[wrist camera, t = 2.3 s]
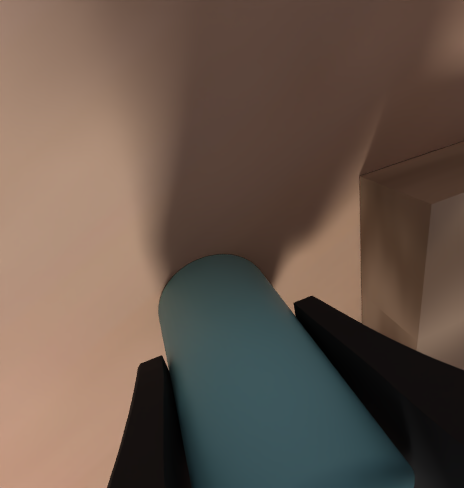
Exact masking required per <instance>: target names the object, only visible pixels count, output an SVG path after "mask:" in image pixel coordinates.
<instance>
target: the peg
mask: <svg viewBox="0 0 464 488" xmlns="http://www.w3.org/2000/svg"><path fill="white" fill-rule="evenodd" d="M158 314H159V320H160V325H161V330H162V336H163V341H164V346H165V351H166V356H167V362H168V367H169V372H170V377H171V382H172V387H173V393H174V398H175V403H176V409H177V414H178V419H179V424H180V429H181V435H182V440H183V445H184V450H185V455H186V461H187V466H188V471H189V476H190V482H191V487H192V488H414V484H415V475H414V471H413V469H412V467H411V466H410V464H409V463H408V462H407V461H406V459H405V458H404V457H403V455H402V454H401V453H400V452H399V450H398V449H397V448H396V446H395V445H394V444H393V442H392V441H391V440H390V439H389V437H388V436H387V435H386V433H385V432H384V431H383V429H382V428H381V427H380V426H379V424H378V423H377V422H376V420H375V419H374V418H373V416H372V415H371V414H370V413H369V411H368V410H367V409H366V407H365V406H364V405H363V403H362V402H361V401H360V400H359V398H358V397H357V396H356V394H355V393H354V392H353V390H352V389H351V388H350V387H349V385H348V384H347V383H346V381H345V380H344V379H343V378H342V376H341V375H340V374H339V372H338V371H337V370H336V368H335V367H334V366H333V365H332V363H331V362H330V361H329V359H328V358H327V357H326V355H325V354H324V353H323V352H322V350H321V349H320V348H319V346H318V345H317V344H316V342H315V341H314V340H313V339H312V337H311V336H310V335H309V333H308V332H307V331H306V329H305V328H304V327H303V326H302V324H301V323H300V322H299V320H298V319H297V318H296V316H295V315H294V314H293V313H292V311H291V310H290V309H289V307H288V306H287V305H286V304H285V302H284V301H283V300H282V298H281V297H280V296H279V294H278V293H277V292H276V291H275V289H274V288H273V287H272V285H271V284H270V283H269V281H268V280H267V279H266V278H265V276H264V275H263V274H262V272H261V271H260V270H259V269H258V268H257V267H256V266H255V265H254V264H253V263H252V262H250V261H248V260H246V259H245V258H242V257H239V256H235V255H227V254H220V255H212V256H207V257H204V258H201V259H198V260H196V261H193V262H192V263H190V264H188V265H186V266H185V267H184V268H182V269H181V270H180V271H178V272H177V273H176V274H175V275H174V276H173V277H172V278H171V280H170V281H169V282H168V284H167V285H166V287H165V288H164V290H163V292H162V295H161V298H160V301H159V310H158Z"/></svg>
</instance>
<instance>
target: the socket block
mask: <svg viewBox="0 0 464 488" xmlns="http://www.w3.org/2000/svg"><path fill="white" fill-rule="evenodd" d="M360 222H361V285H362V324H364V325H366V326H367V327H369V328H371V329H373V330H375V331H377V332H379V333H381V334H383V335H385V336H387V337H389V338H391V339H393V340H395V341H397V342H399V343H401V344H403V345H405V346H408V347H410V348H412V349H414V350H416V351H418V352H421V353H423V354H425V355H427V356H430V357H432V358H434V359H437V360H439V361H442V362H444V363H447V364H449V365H452V366H455V367H457V368H460V369H462V370H464V141H463V142H460V143H457V144H454V145H451V146H448V147H445V148H442V149H439V150H436V151H433V152H430V153H428V154H425V155H422V156H419V157H416V158H413V159H410V160H407V161H404V162H401V163H398V164H395V165H392V166H389V167H386V168H383V169H380V170H377V171H374V172H371V173H368V174H365V175H362V176H360Z"/></svg>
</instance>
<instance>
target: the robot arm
mask: <svg viewBox="0 0 464 488" xmlns="http://www.w3.org/2000/svg"><path fill="white" fill-rule="evenodd" d="M294 308H295V315H296V318H297V319H298V320H299V322H300V323H301V324H302V326H303V327H304V328H305V329H306V331H307V332H308V333H309V335H310V336H311V337H312V339H313V340H314V341H315V342H316V344H317V345H318V346H319V348H320V349H321V350H322V352H323V353H324V354H325V355H326V357H327V358H328V359H329V361H330V362H331V363H332V365H333V366H334V367H335V368H336V370H337V371H338V372H339V374H340V375H341V376H342V378H343V379H344V380H345V381H346V383H347V384H348V385H349V387H350V388H351V389H352V390H353V392H354V393H355V394H356V396H357V397H358V398H359V400H360V401H361V402H362V403H363V405H364V406H365V407H366V409H367V410H368V411H369V413H370V414H371V415H372V416H373V418H374V419H375V420H376V422H377V423H378V424H379V426H380V427H381V428H382V429H383V431H384V432H385V433H386V435H387V436H388V437H389V439H390V440H391V441H392V442H393V444H394V445H395V446H396V448H397V449H398V450H399V452H400V453H401V454H402V455H403V457H404V458H405V459H406V461H407V462H408V463H409V464H410V466H411V467H412V469H413V471H414V475H415V484H414V488H464V370H462V369H460V368H457V367H455V366H452V365H449V364H447V363H444V362H442V361H439V360H437V359H434V358H432V357H430V356H427V355H425V354H423V353H421V352H418V351H416V350H414V349H412V348H410V347H408V346H405V345H403V344H401V343H399V342H397V341H395V340H393V339H391V338H389V337H387V336H385V335H383V334H381V333H379V332H377V331H375V330H373V329H371V328H369V327H367V326H366V325H364V324H362V323H360V322H358V321H356V320H354V319H353V318H351V317H349V316H347V315H345V314H344V313H342V312H340V311H338V310H337V309H335V308H333V307H331V306H330V305H328V304H326V303H324V302H323V301H321V300H319V299H317V298H316V297H314V296H310V297H307V298H305V299H302V300H300V301H297V302H295V303H294ZM107 488H192V487H191V482H190V476H189V471H188V466H187V461H186V455H185V450H184V445H183V440H182V435H181V429H180V424H179V419H178V414H177V409H176V403H175V398H174V393H173V387H172V382H171V377H170V372H169V370H168V367H167V365H166V363H165V361H164V359H163V356H162V355H161V356H159V357H156V358H154V359H151V360H149V361H146V362H144V363H141V364H140V365H139V367H138V371H137V377H136V382H135V388H134V393H133V397H132V402H131V406H130V410H129V415H128V419H127V422H126V426H125V430H124V434H123V437H122V441H121V445H120V448H119V452H118V455H117V458H116V461H115V464H114V468H113V471H112V474H111V477H110V480H109V483H108V487H107Z"/></svg>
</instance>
